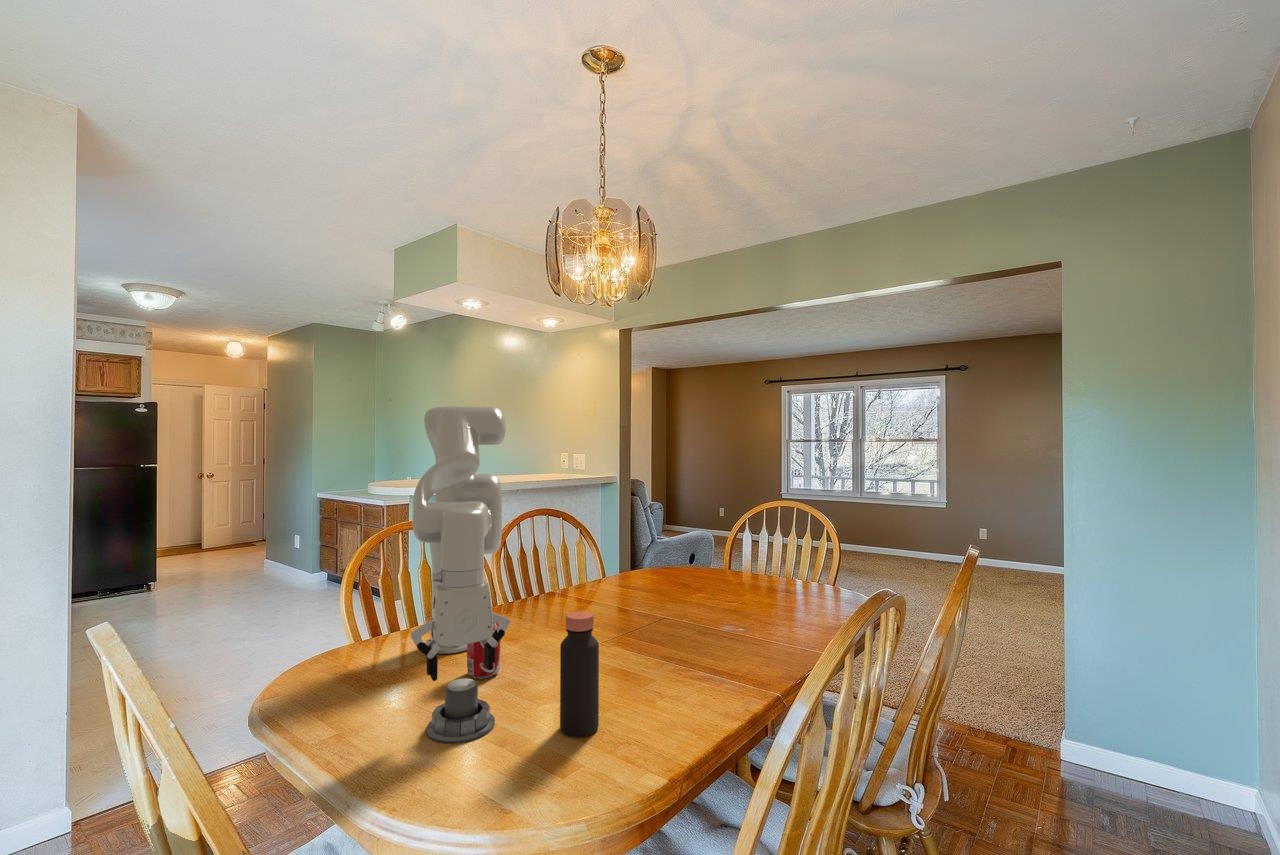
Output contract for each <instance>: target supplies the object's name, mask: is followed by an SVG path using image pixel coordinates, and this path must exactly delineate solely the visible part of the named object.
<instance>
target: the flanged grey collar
mask: <svg viewBox="0 0 1280 855" xmlns="http://www.w3.org/2000/svg"><path fill="white" fill-rule="evenodd" d="M495 721H496V720H495V717H494V715H493V714H492V713H491V707H490V705H489V703H488V702H487V701H485V700H482V699H481V698H478V714H476V715H474V716H472V717H469V718H465V719H447V718H445V702H443V703H441V704H440V705H438V706H436V707H435V708H434V710H433V711H432V712H431V721H429V723H428V724H427V725H426V735H427V737H428V738H429V739H430V740H431V741H434V742H437V743H439V744H440V743H442V744H451V745H452V744H462V743H466V742H467V743H468V742H471V741H475V740H477V739H480V738H482V737H484V736H487V734H489V733H491V731H492V730H493V729H494V727H495Z"/></svg>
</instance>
